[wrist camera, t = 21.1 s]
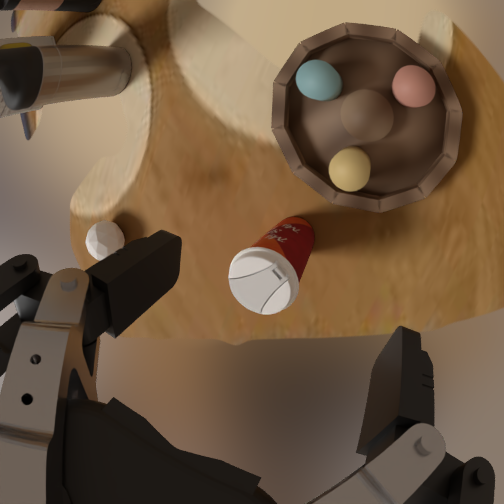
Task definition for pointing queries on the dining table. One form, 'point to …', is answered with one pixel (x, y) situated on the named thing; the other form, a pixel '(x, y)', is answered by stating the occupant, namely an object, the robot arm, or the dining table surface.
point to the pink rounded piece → (413, 86)
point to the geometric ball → (104, 239)
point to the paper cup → (272, 267)
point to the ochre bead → (350, 168)
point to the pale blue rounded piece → (319, 80)
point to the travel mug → (50, 5)
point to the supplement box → (0, 106)
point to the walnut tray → (328, 135)
